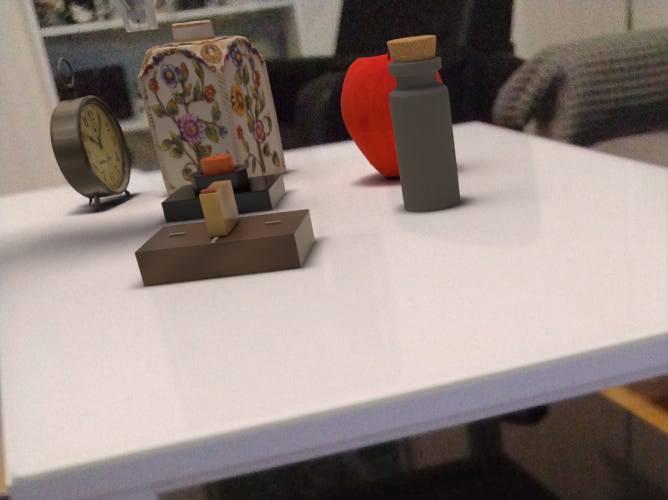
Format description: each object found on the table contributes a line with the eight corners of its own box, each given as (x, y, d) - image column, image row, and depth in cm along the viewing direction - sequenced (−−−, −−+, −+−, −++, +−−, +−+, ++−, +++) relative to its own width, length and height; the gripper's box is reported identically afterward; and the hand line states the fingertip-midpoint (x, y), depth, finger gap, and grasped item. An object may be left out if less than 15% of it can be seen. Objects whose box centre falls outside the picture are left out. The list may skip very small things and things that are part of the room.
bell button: (201, 178, 113) (197, 161, 112) (207, 173, 116) (203, 156, 115) (232, 175, 113) (229, 157, 112) (238, 169, 116) (235, 152, 115)
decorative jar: (165, 197, 127) (121, 31, 117) (211, 177, 136) (174, 21, 126) (249, 192, 124) (211, 20, 114) (291, 172, 133) (259, 11, 123)
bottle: (395, 214, 103) (370, 44, 95) (417, 201, 108) (395, 37, 100) (449, 212, 102) (429, 38, 93) (468, 198, 106) (450, 32, 98)
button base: (166, 223, 113) (156, 185, 111) (186, 205, 121) (177, 169, 119) (272, 210, 112) (264, 171, 110) (286, 193, 121) (278, 156, 118)
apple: (349, 193, 116) (327, 59, 109) (358, 174, 126) (338, 50, 118) (453, 180, 116) (437, 45, 108) (453, 162, 125) (439, 37, 118)
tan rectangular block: (223, 222, 94) (212, 179, 92) (239, 220, 94) (230, 176, 92) (209, 237, 89) (197, 192, 87) (227, 235, 89) (216, 189, 87)
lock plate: (144, 287, 89) (133, 250, 88) (171, 259, 98) (162, 224, 96) (301, 269, 89) (293, 231, 87) (315, 241, 97) (308, 206, 95)
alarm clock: (105, 213, 123) (59, 59, 114) (65, 217, 124) (16, 65, 115) (143, 194, 132) (104, 50, 122) (105, 197, 133) (63, 55, 124)
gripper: (-21, -131, 93) (30, 44, 101) (200, -158, 92) (234, 20, 100) (5, -126, 98) (52, 40, 106) (214, -151, 97) (246, 18, 105)
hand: (142, 30), depth 103 cm, fingers closed
